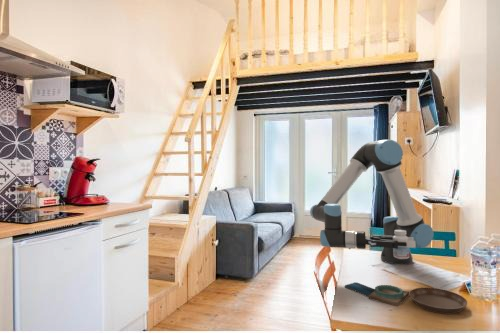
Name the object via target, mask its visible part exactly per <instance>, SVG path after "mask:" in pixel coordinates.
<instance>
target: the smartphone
mask: <svg viewBox="0 0 500 333" xmlns="http://www.w3.org/2000/svg"><path fill="white" fill-rule="evenodd" d="M344 288H345V289H348V290H350V291H352V292H355V293H358V294H360V295H362V296H365V297H367V298H368V295H370V294H371V293H372V292H374V291H375V288H372V287H370V286H367V285H364V284H362V283H359V282H351V283H348V284H345V285H344Z"/></svg>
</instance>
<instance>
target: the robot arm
mask: <svg viewBox="0 0 500 333" xmlns="http://www.w3.org/2000/svg"><path fill="white" fill-rule="evenodd" d="M403 152H404V151H403V147H402V146H401V145H400V143H398V141H395V140H393V139H381V140H380V139H379V140H376V141H369V142H366V143H365V144H363V145H362V146H361V147H360V148H358V150H357V151H356V152H354V154H353V156H352V157H351V158H350V159H349V164H348V166H346V168H345V169H344V170H343V172H342V173H341V174H340V175H339V177H338V178H337V179H336V181H334V183H333V184H332V186H331V187H330V188H329V190H327V192H326V193H325V195H324V196H323V197H322V198H321V200H320V201H319V202H318V203H317V204H314V205H312V206H311V208H310V210H309V213H310V216H311V218H312V219H314V220H316V221H319V222H323V224H324V229H322V230H320V232H319V233H320V234H319V242H320V245H321V246H322V247H324V248H325V247H327V248H328V247H329V248H341V249H343V248H345V249H348V250H351V249H358V250H360V249H361V250H366V248H367V247H366V246H367V245H368V246H370V247H371V248H382V250H381V252H380V260H381V261H383V262H384V263H388V264H394V265H410V264H413V262H414V260H413V255H412V253H411V249H410V248H413V249H416V248H418V249H423V248H426V247H428V246H429V245H430V244H431V243H432V241H433V239H434V230H433V228H432V226H431V225H430V224H428V223H425V220H424V218H423V216H422V215H421V214H419V213H418V212H417V208H416V206H415V204H414V202H413V199H412V197H411V194H410V191H409V189H408V186H407V183H406V181H405V178H404V174H403V173H402V170H401V166H402V164H403V163H402V159H403V155H404V153H403ZM372 166H374V169H375V171H376V173H378V174H380V175H381V176H382V177H381V178H382V180H383V183H384V185H385V187H386V190H387V193H388V194H389V197H390V200H391V202H392V205H393V208H394V210H395V213H396V215H393V216H385V217H383V220H382V222H383V223H382V225H383V228H382V230H383V234H370V235H369V236H368V235H367V236H366V232H365V231H363V230H362V231H361V230H357V231H355V230H342V228H343V226H342V224H343V223H342V213H343V212H342V207H341V205H340V204H339V203H340V201H341V200H342V199H343V198H344V196H345V195H346V194H347V193H348V192H349V190H350V189H351V188H352V186H353V185H354V184H355V183H356V182H357V180H358V179H359V177H360V176H361V174H363V173H364V172H367V171H368V169H369V168H371V167H372ZM394 230H405V231H406V233H407V234H406V236H407V237H408V239H409V241H408V240H398V241H395V240H393V236H395V233H394ZM398 247H408V248H409V258H408V259H399V258H395V257H394V255H393V248H396V249H398Z"/></svg>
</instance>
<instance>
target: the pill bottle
mask: <svg viewBox="0 0 500 333" xmlns="http://www.w3.org/2000/svg"><path fill="white" fill-rule="evenodd" d="M394 233H395V236H393V240H395V241H398V240H408V241H409V239H408V237H407V236H406V234H407V233H406V231H405V230H394ZM409 249H410V248H408V247H398V249H396V248H393V255H394V257H395V258H399V259H408V258H409Z"/></svg>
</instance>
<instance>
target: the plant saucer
mask: <svg viewBox="0 0 500 333" xmlns="http://www.w3.org/2000/svg"><path fill="white" fill-rule="evenodd" d="M409 297H410V298H411V299H412V301H413V303H415V304H416V305H417V306H418V307H419V308H422V309H423V310H427V311H430V312H433V313H438V314H447V315H449V314H457V313H459V312H462V311H463V310H465V308H466V307H467V305H468V301H467V299H466V298H465V297H464V296H463V295H461V294H459V293H457V292H454V291H450V290H447V289H443V288H437V287H436V288H435V287H418V288H413V289H411V290H410V291H409Z"/></svg>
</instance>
